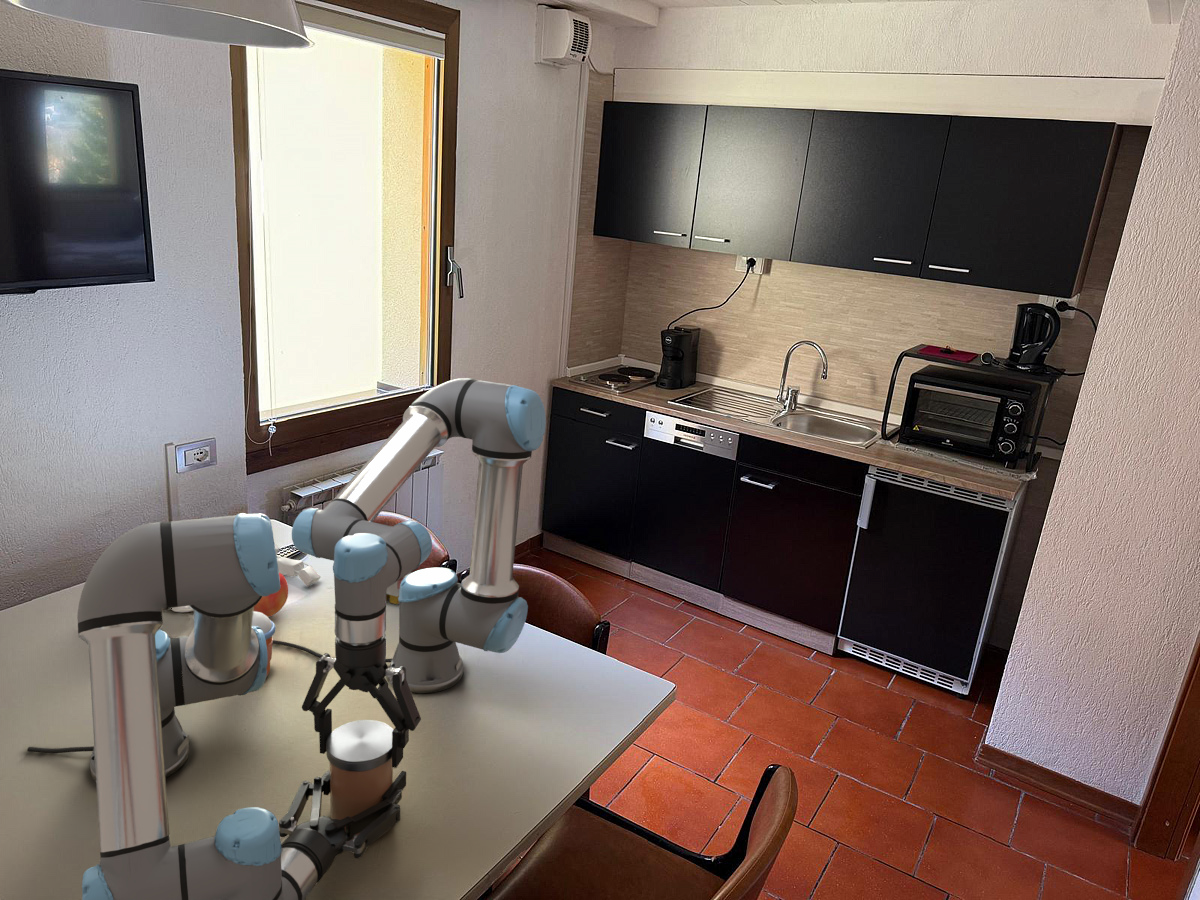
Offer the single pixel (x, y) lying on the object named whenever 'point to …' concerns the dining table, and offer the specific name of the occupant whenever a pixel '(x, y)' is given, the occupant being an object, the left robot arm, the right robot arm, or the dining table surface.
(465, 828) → the dining table surface
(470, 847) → the dining table surface
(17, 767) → the dining table surface
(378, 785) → the jar
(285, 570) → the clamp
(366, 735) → the lid
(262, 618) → the cup with straw
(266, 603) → the apple
